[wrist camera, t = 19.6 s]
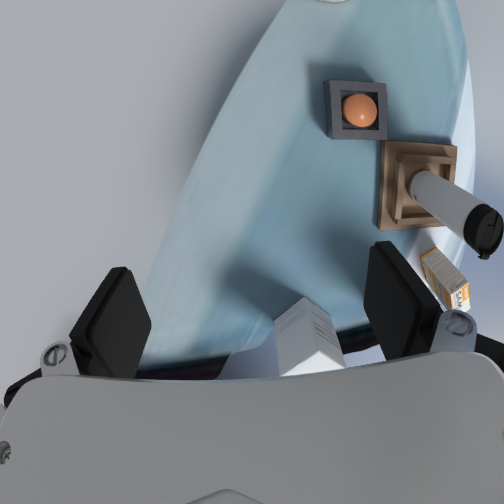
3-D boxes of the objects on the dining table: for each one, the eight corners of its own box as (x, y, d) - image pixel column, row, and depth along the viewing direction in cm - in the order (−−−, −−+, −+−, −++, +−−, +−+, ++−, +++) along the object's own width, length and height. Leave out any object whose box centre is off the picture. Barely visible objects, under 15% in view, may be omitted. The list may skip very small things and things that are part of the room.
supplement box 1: (300, 338, 63) (310, 393, 50) (272, 320, 60) (277, 377, 47) (331, 315, 60) (348, 370, 46) (304, 294, 57) (318, 351, 43)
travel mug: (403, 201, 45) (469, 259, 28) (410, 166, 42) (486, 210, 24) (429, 205, 45) (496, 261, 28) (437, 172, 42) (512, 216, 25)
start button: (339, 93, 37) (344, 93, 35) (369, 95, 37) (376, 95, 34) (341, 125, 39) (346, 126, 37) (370, 125, 39) (377, 127, 37)
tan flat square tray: (381, 140, 41) (390, 143, 38) (452, 145, 41) (463, 149, 38) (376, 227, 49) (384, 235, 46) (443, 222, 49) (452, 230, 46)
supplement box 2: (418, 257, 52) (449, 294, 41) (436, 245, 51) (469, 280, 40) (426, 283, 56) (453, 321, 44) (442, 272, 55) (471, 308, 43)
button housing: (323, 81, 37) (329, 80, 34) (376, 84, 37) (386, 83, 34) (327, 136, 42) (332, 139, 39) (378, 137, 41) (387, 140, 38)
